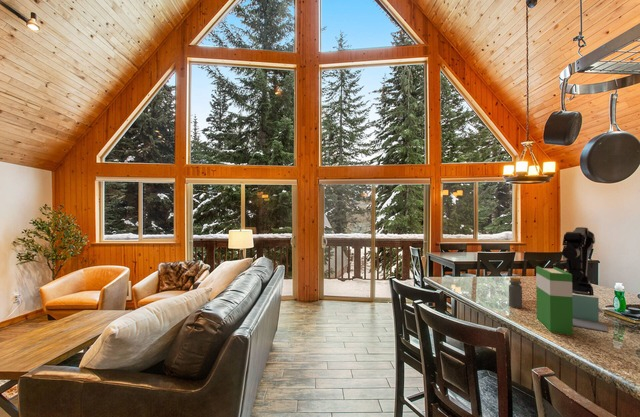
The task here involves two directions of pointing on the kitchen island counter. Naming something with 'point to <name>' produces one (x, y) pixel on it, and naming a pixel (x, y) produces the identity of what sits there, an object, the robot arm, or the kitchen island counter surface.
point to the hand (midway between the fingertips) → (574, 288)
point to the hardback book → (554, 299)
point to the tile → (585, 307)
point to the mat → (589, 325)
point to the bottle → (515, 292)
